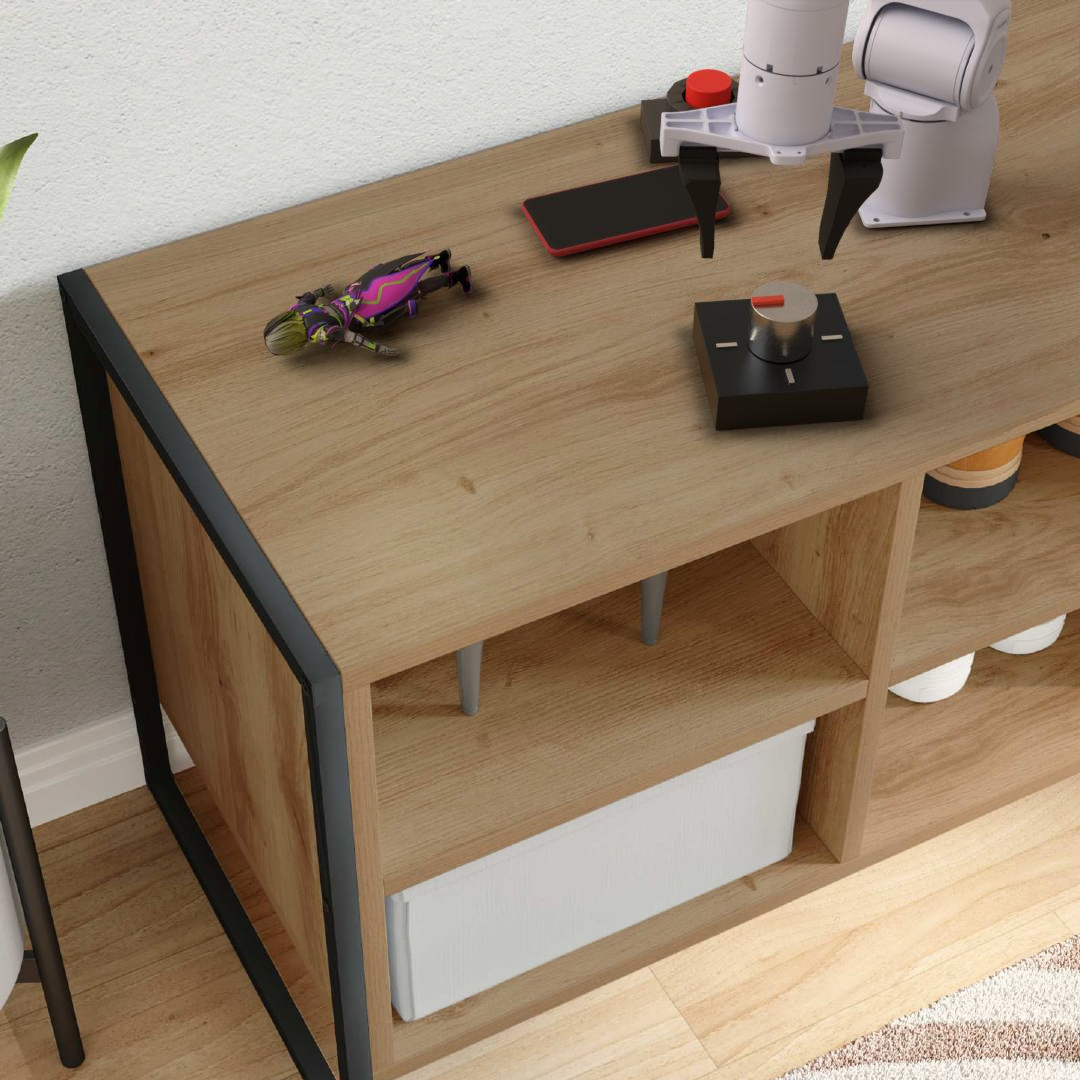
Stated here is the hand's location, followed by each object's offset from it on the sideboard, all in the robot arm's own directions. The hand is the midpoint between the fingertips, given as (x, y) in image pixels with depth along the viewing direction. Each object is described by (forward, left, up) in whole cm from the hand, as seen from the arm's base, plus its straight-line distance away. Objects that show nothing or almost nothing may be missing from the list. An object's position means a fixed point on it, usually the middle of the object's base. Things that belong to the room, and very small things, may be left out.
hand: (765, 250), depth 101 cm
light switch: (-2, -30, -11) cm, 31 cm away
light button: (-2, -30, -7) cm, 30 cm away
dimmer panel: (-2, 0, -11) cm, 11 cm away
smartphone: (+6, -20, -11) cm, 23 cm away
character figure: (+26, -9, -11) cm, 30 cm away
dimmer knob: (-2, 0, -7) cm, 8 cm away
